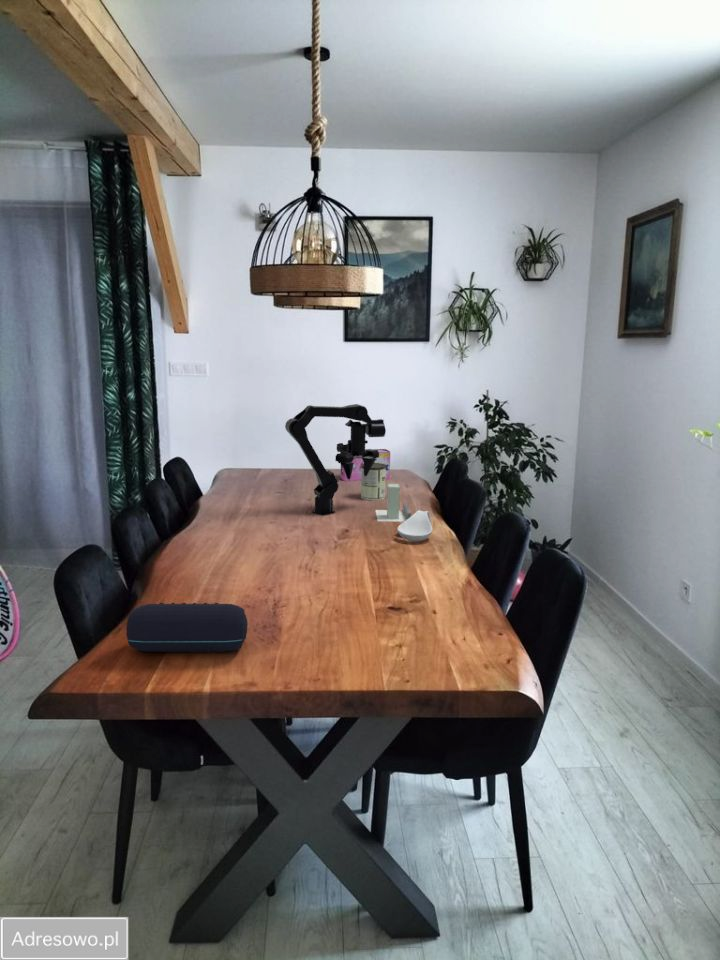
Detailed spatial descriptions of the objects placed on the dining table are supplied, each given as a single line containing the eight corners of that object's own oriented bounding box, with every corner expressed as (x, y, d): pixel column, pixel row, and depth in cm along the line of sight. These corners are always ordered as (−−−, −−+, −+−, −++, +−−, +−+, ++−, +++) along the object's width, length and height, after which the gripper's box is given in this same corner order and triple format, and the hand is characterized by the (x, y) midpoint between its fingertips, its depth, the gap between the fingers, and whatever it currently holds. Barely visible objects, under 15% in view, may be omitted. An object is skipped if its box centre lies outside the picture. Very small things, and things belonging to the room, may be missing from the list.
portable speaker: (250, 638, 149) (250, 596, 147) (245, 659, 139) (244, 615, 137) (136, 638, 148) (134, 596, 145) (123, 660, 138) (120, 615, 136)
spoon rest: (428, 546, 217) (429, 525, 216) (393, 542, 221) (394, 522, 219) (440, 527, 240) (441, 508, 238) (408, 524, 243) (409, 505, 241)
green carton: (399, 519, 246) (400, 487, 243) (387, 518, 245) (388, 487, 243) (397, 515, 251) (399, 484, 248) (386, 514, 251) (387, 483, 248)
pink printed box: (341, 481, 311) (341, 452, 308) (337, 477, 319) (337, 450, 316) (390, 479, 318) (390, 451, 315) (384, 476, 325) (385, 448, 322)
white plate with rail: (411, 523, 243) (411, 513, 242) (377, 523, 242) (377, 513, 241) (406, 512, 258) (407, 502, 257) (375, 511, 258) (375, 502, 257)
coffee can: (361, 494, 286) (362, 462, 283) (385, 495, 285) (386, 463, 282) (359, 500, 276) (360, 466, 273) (384, 501, 275) (385, 467, 272)
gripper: (359, 433, 266) (359, 471, 269) (325, 437, 253) (325, 477, 256) (380, 436, 258) (379, 475, 262) (346, 441, 245) (345, 482, 248)
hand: (357, 477), depth 257 cm, fingers open, 9 cm apart
